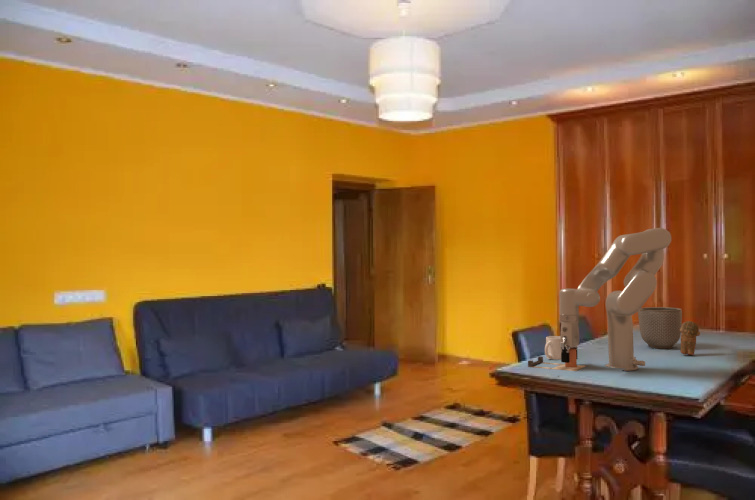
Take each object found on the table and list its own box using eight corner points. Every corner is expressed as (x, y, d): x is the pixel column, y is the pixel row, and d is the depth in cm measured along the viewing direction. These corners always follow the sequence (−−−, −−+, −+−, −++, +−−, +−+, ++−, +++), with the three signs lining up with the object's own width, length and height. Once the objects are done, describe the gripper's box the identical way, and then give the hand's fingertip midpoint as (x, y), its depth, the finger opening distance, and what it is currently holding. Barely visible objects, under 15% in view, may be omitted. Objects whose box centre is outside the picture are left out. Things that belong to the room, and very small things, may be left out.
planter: (690, 350, 291) (689, 309, 292) (649, 351, 292) (647, 310, 292) (671, 344, 311) (670, 306, 311) (632, 345, 311) (631, 307, 312)
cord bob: (578, 365, 252) (577, 348, 252) (574, 367, 248) (574, 350, 248) (567, 365, 254) (566, 348, 254) (563, 366, 251) (563, 349, 251)
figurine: (680, 356, 275) (679, 322, 276) (679, 353, 283) (678, 320, 283) (702, 356, 272) (700, 323, 272) (700, 354, 280) (698, 321, 280)
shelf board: (586, 368, 251) (586, 359, 251) (576, 374, 241) (575, 364, 241) (539, 364, 263) (539, 356, 263) (527, 369, 253) (527, 360, 253)
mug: (553, 363, 265) (552, 339, 265) (537, 361, 271) (536, 338, 271) (569, 360, 272) (569, 337, 272) (554, 358, 279) (553, 335, 279)
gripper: (571, 321, 242) (571, 364, 242) (584, 317, 256) (585, 358, 256) (552, 320, 247) (552, 362, 246) (567, 316, 261) (567, 357, 260)
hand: (569, 360), depth 251 cm, fingers open, 9 cm apart
